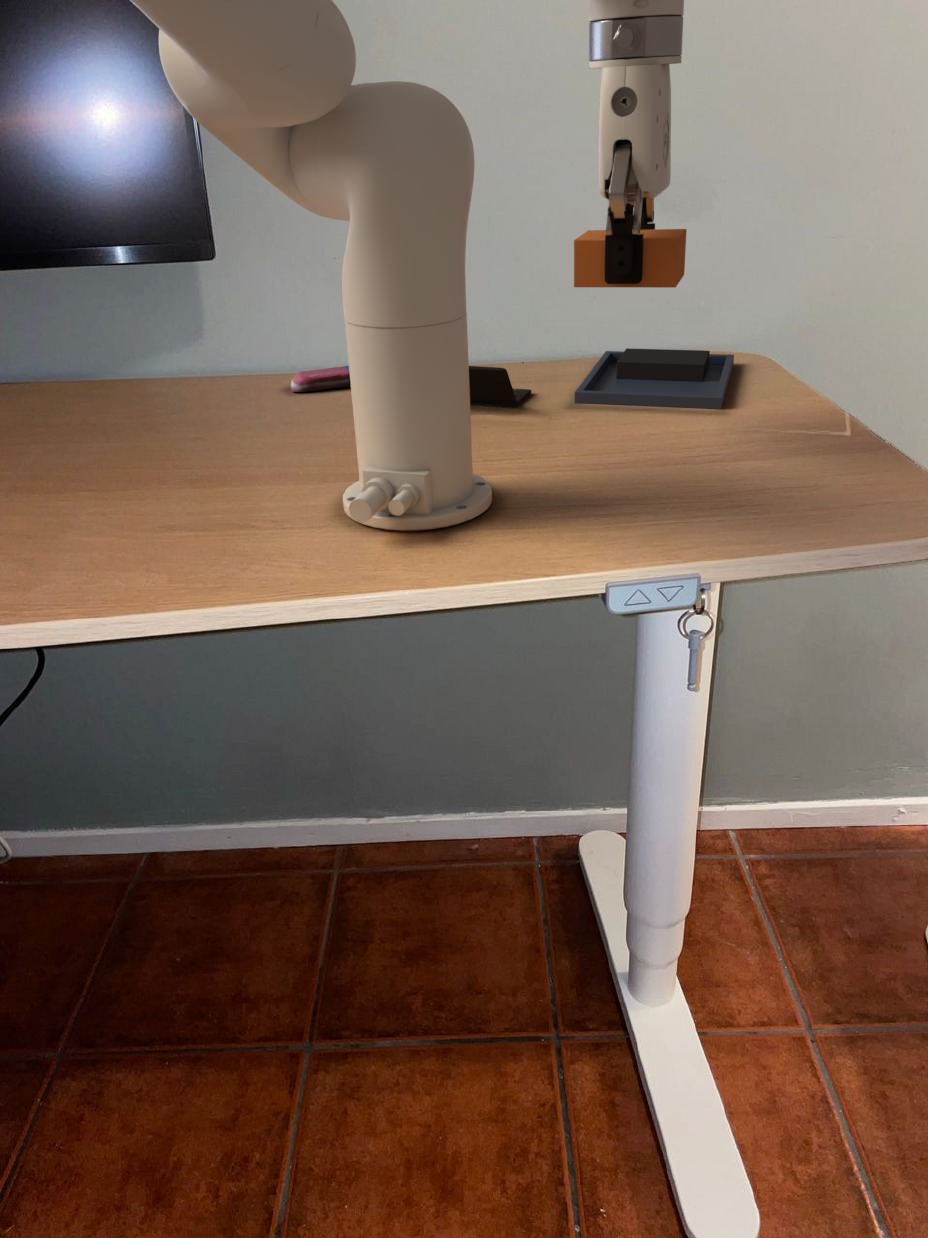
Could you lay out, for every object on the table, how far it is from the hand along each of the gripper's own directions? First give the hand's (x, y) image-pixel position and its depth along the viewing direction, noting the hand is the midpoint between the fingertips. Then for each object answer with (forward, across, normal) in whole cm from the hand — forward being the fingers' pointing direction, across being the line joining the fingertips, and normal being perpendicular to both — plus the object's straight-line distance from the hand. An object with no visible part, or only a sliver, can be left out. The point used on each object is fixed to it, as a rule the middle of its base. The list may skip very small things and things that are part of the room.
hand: (629, 274), depth 90 cm
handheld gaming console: (+16, +10, +19) cm, 27 cm away
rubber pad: (+16, +26, 0) cm, 30 cm away
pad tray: (+16, +21, 0) cm, 27 cm away
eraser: (+16, +16, +38) cm, 44 cm away
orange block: (+1, 0, 0) cm, 1 cm away
